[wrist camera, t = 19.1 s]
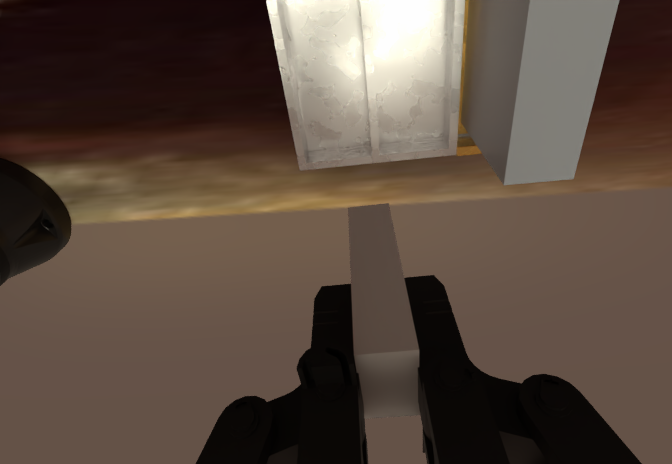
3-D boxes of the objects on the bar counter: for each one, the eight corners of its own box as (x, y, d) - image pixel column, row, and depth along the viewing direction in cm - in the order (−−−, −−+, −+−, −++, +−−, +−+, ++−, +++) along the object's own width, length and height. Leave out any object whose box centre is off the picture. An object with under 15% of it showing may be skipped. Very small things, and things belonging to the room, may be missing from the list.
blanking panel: (460, 122, 40) (503, 185, 29) (471, -40, 32) (535, -42, 21) (510, 117, 40) (573, 178, 28) (532, -49, 32) (633, -56, 21)
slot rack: (303, 157, 44) (299, 171, 41) (266, -42, 33) (257, -42, 30) (525, 134, 41) (539, 147, 38) (561, -89, 31) (584, -94, 28)
